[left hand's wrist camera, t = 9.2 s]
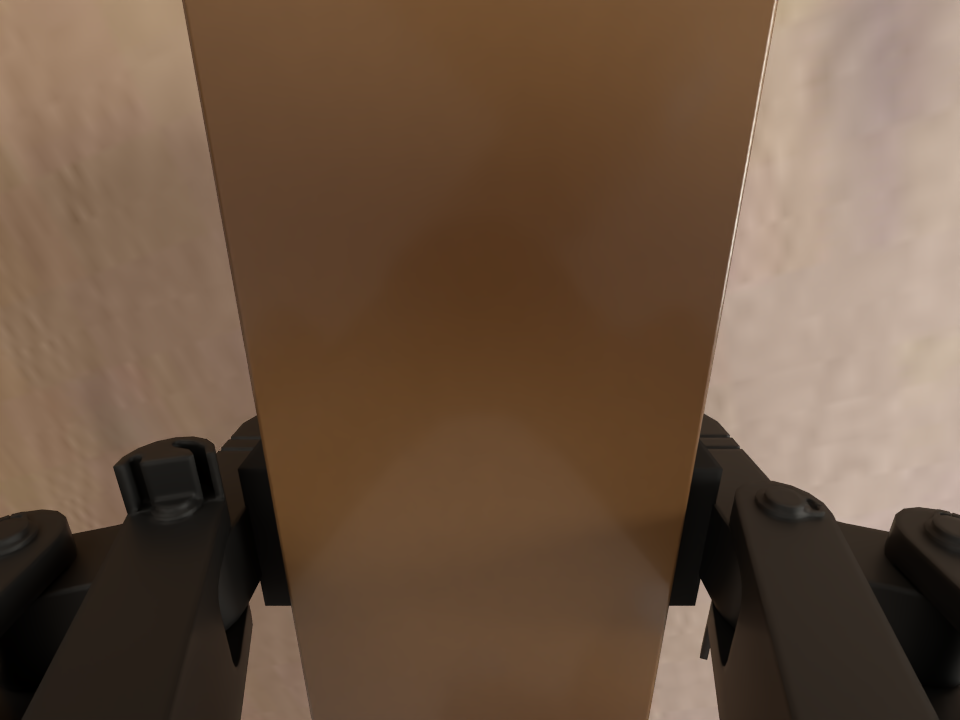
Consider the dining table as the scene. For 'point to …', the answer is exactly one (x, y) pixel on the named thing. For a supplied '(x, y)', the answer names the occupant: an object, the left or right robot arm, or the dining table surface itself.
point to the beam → (480, 326)
